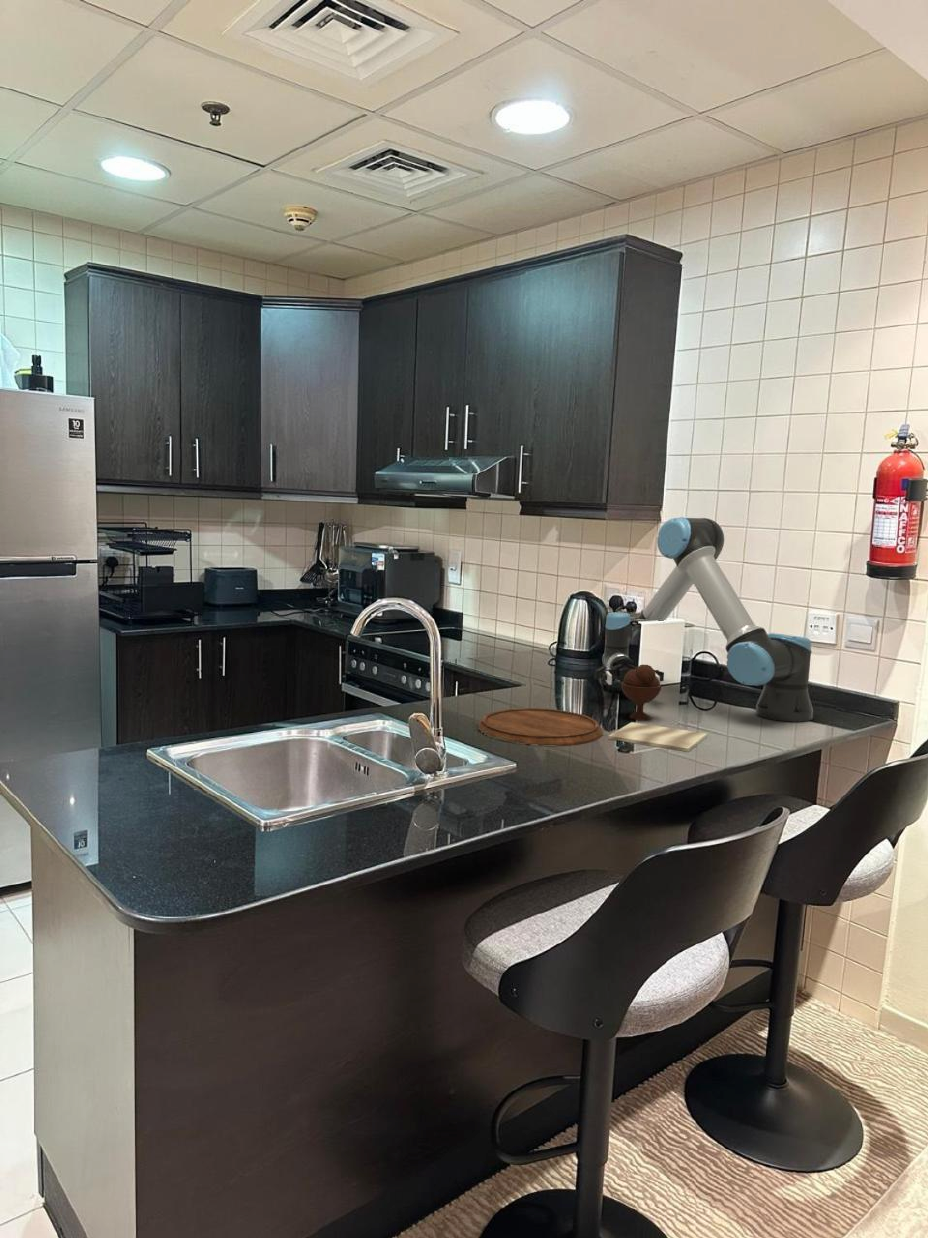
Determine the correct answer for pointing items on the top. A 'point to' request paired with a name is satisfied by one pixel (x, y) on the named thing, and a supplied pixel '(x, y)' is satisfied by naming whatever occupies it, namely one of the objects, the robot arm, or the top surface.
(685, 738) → the birch pad
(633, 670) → the chocolate ice cream sundae
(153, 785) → the top surface
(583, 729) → the cutting board
